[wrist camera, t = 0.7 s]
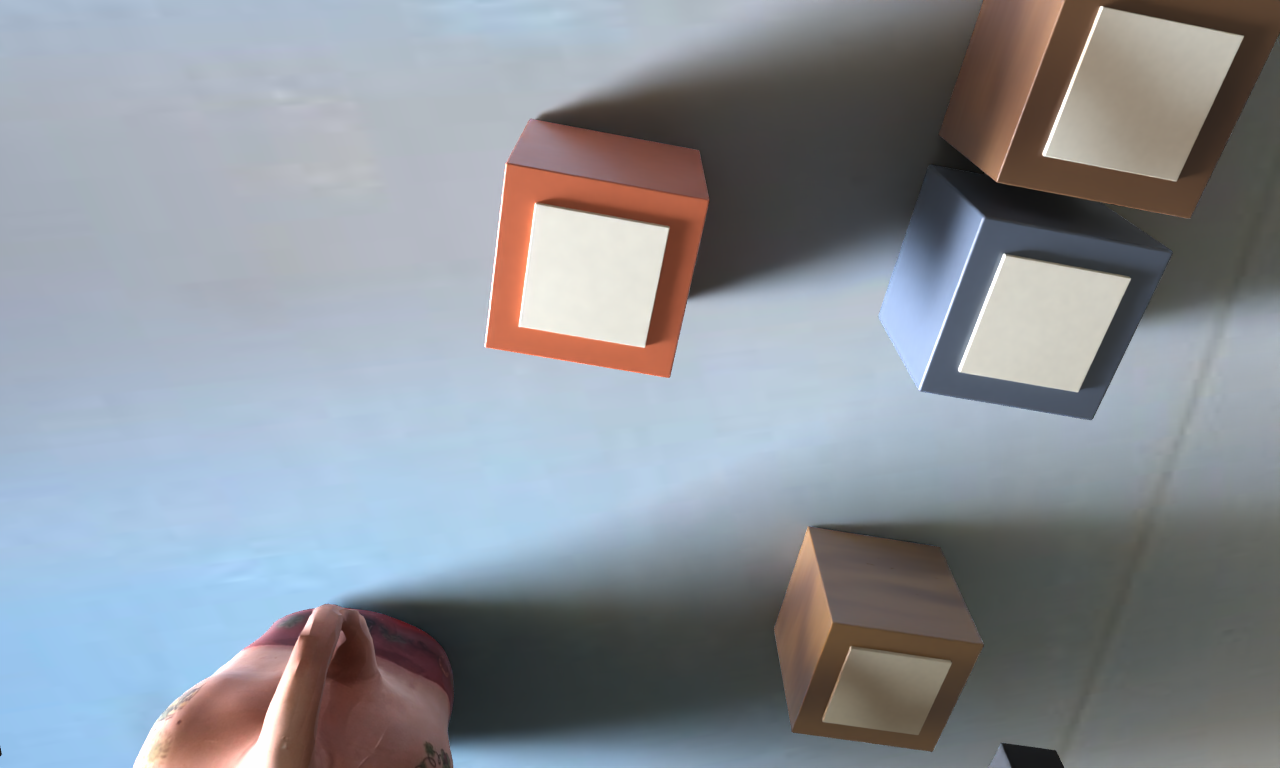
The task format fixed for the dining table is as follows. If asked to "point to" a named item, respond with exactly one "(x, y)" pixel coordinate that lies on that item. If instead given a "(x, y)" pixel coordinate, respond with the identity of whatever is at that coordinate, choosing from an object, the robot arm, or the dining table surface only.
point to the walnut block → (1108, 94)
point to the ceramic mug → (316, 700)
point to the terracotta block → (596, 248)
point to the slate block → (1017, 293)
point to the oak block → (873, 640)
